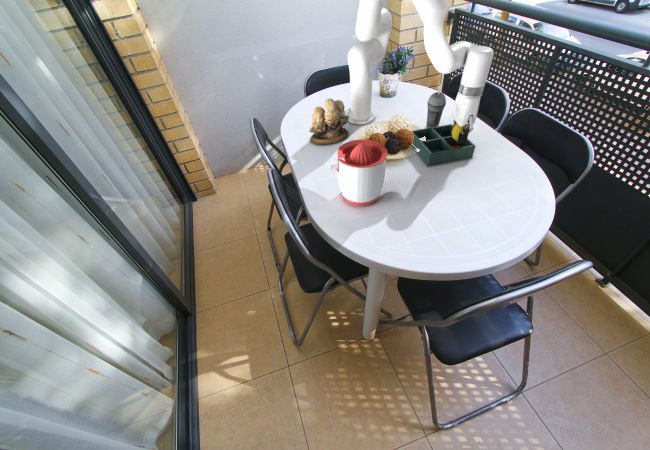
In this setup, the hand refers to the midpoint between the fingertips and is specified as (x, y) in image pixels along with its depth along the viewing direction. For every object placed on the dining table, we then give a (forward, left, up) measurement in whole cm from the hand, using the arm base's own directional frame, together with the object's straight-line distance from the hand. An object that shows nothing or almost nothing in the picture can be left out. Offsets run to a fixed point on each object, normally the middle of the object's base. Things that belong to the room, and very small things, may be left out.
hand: (458, 137), depth 117 cm
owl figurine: (-47, +20, -7) cm, 52 cm away
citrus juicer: (-40, -21, -7) cm, 45 cm away
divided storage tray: (-5, +3, -7) cm, 9 cm away
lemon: (0, 0, -2) cm, 2 cm away
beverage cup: (-3, +20, -7) cm, 22 cm away
